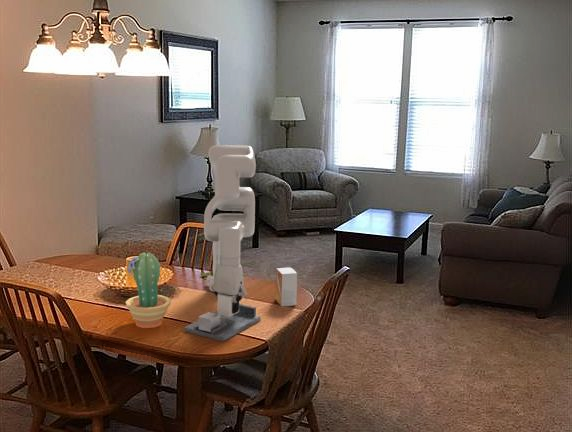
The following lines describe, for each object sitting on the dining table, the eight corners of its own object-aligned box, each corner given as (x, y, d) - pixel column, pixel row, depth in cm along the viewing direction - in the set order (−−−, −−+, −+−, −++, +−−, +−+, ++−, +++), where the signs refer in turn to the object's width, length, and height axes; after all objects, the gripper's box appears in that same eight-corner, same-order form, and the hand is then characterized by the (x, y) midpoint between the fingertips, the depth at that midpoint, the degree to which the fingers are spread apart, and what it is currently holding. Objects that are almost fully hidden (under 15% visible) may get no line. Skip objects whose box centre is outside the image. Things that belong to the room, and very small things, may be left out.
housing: (217, 314, 218) (217, 293, 217) (227, 309, 223) (227, 288, 222) (229, 316, 216) (229, 295, 214) (239, 311, 221) (239, 291, 220)
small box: (275, 299, 247) (275, 268, 244) (290, 298, 249) (291, 267, 246) (280, 306, 239) (281, 273, 237) (296, 305, 241) (297, 272, 238)
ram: (198, 329, 210) (198, 316, 209) (212, 321, 216) (212, 309, 215) (210, 332, 207) (210, 319, 206) (224, 324, 214) (224, 312, 213)
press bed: (184, 331, 212) (184, 318, 211) (223, 311, 232) (223, 300, 231) (223, 341, 204) (223, 328, 204) (260, 320, 224) (260, 308, 223)
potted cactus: (142, 312, 228) (141, 246, 223) (179, 319, 223) (179, 251, 218) (116, 327, 214) (114, 256, 209) (155, 334, 209) (154, 262, 204)
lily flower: (223, 272, 282) (223, 263, 281) (228, 280, 271) (228, 270, 270) (196, 274, 279) (196, 264, 278) (201, 281, 267) (201, 271, 267)
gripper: (202, 259, 217) (202, 309, 220) (243, 267, 209) (243, 318, 212) (215, 254, 223) (215, 303, 227) (255, 262, 215) (254, 312, 219)
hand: (228, 310), depth 220 cm, fingers closed on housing, 5 cm apart
